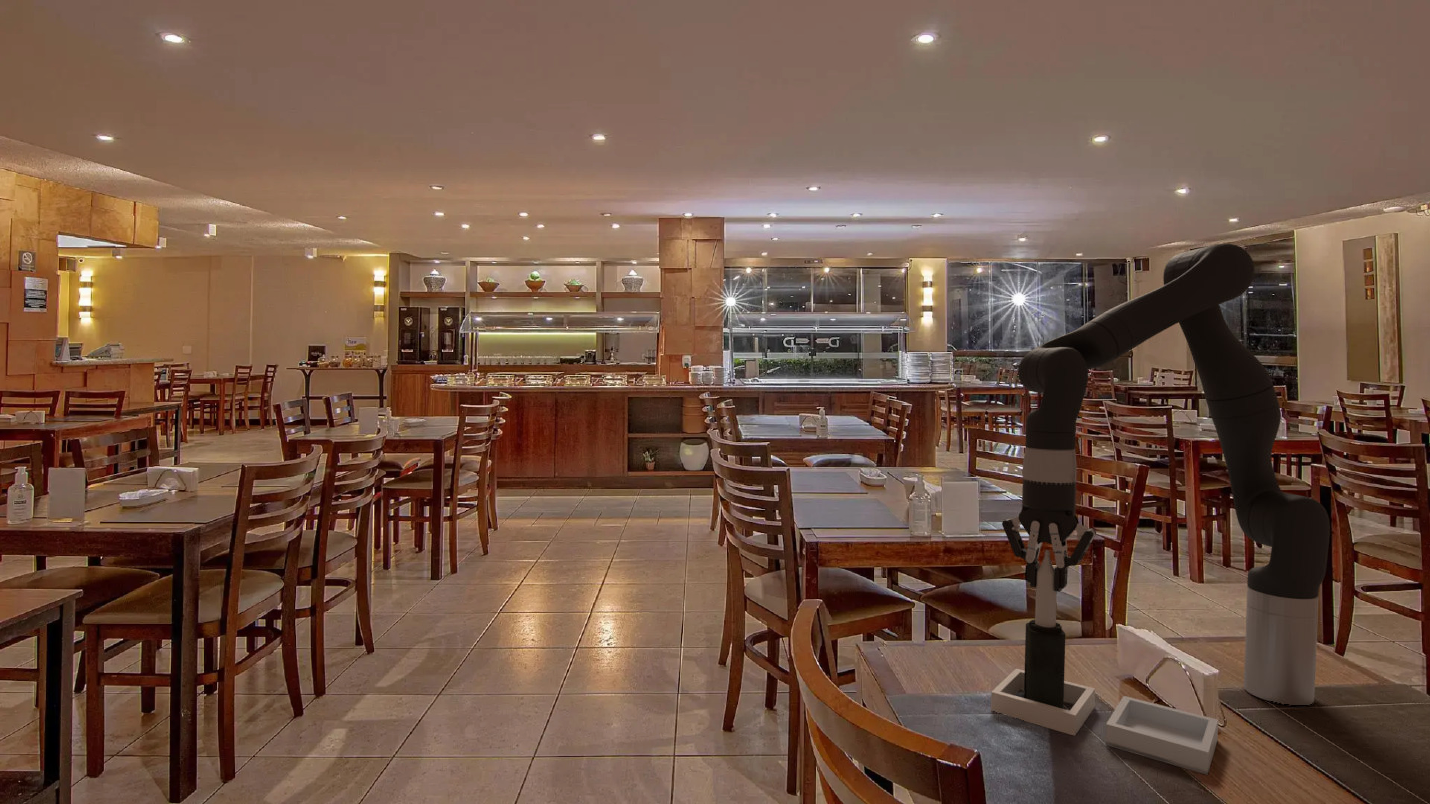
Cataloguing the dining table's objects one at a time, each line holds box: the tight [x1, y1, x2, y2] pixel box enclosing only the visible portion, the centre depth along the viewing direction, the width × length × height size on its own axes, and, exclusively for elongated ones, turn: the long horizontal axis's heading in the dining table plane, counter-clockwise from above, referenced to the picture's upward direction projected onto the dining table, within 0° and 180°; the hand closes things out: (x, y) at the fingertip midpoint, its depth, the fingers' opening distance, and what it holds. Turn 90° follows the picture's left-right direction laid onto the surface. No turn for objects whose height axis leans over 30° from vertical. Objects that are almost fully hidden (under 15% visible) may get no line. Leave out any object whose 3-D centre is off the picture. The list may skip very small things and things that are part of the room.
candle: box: [1023, 549, 1066, 709], centre depth 114 cm, size 5×5×25 cm
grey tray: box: [1105, 695, 1219, 776], centre depth 104 cm, size 12×12×3 cm
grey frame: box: [990, 668, 1096, 736], centre depth 114 cm, size 12×12×3 cm
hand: (1046, 587), depth 114 cm, fingers closed on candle, 3 cm apart
